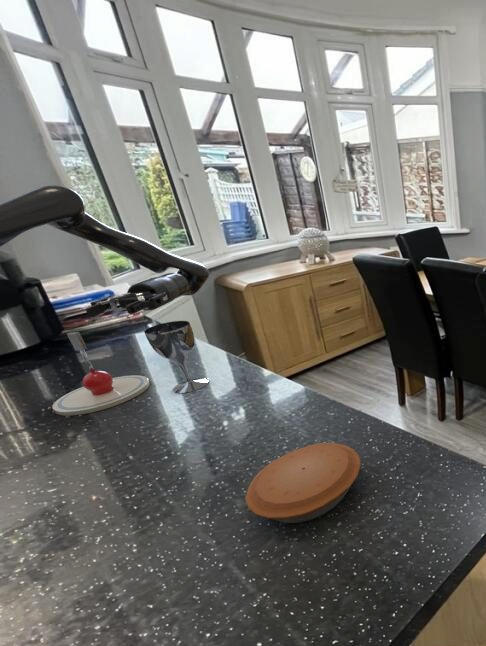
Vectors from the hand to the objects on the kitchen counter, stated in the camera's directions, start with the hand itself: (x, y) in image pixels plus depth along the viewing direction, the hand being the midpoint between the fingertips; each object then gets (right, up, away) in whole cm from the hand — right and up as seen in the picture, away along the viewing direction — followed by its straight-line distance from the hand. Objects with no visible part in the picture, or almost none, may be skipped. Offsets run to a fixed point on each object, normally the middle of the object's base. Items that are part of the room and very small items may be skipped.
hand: (108, 311), depth 93 cm
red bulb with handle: (+2, -19, -3) cm, 19 cm away
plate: (+2, -20, -3) cm, 20 cm away
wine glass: (+20, -18, 0) cm, 26 cm away
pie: (+65, -31, -33) cm, 79 cm away
